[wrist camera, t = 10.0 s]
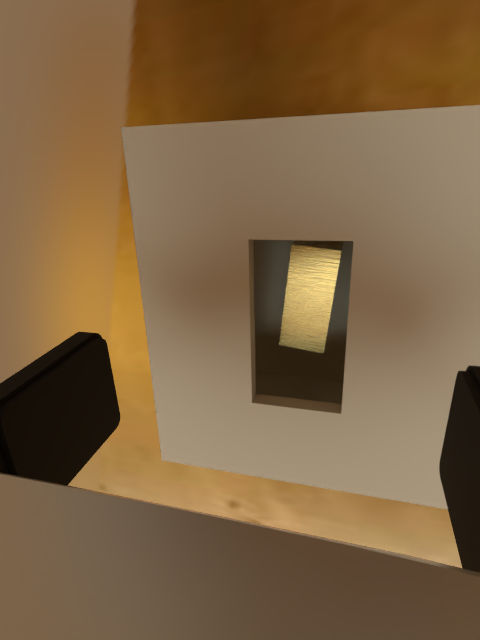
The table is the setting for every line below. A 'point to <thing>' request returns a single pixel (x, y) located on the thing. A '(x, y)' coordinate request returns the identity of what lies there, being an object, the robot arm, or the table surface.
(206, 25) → the table surface
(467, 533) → the robot arm
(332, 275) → the wooden block
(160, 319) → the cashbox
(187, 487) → the table surface
